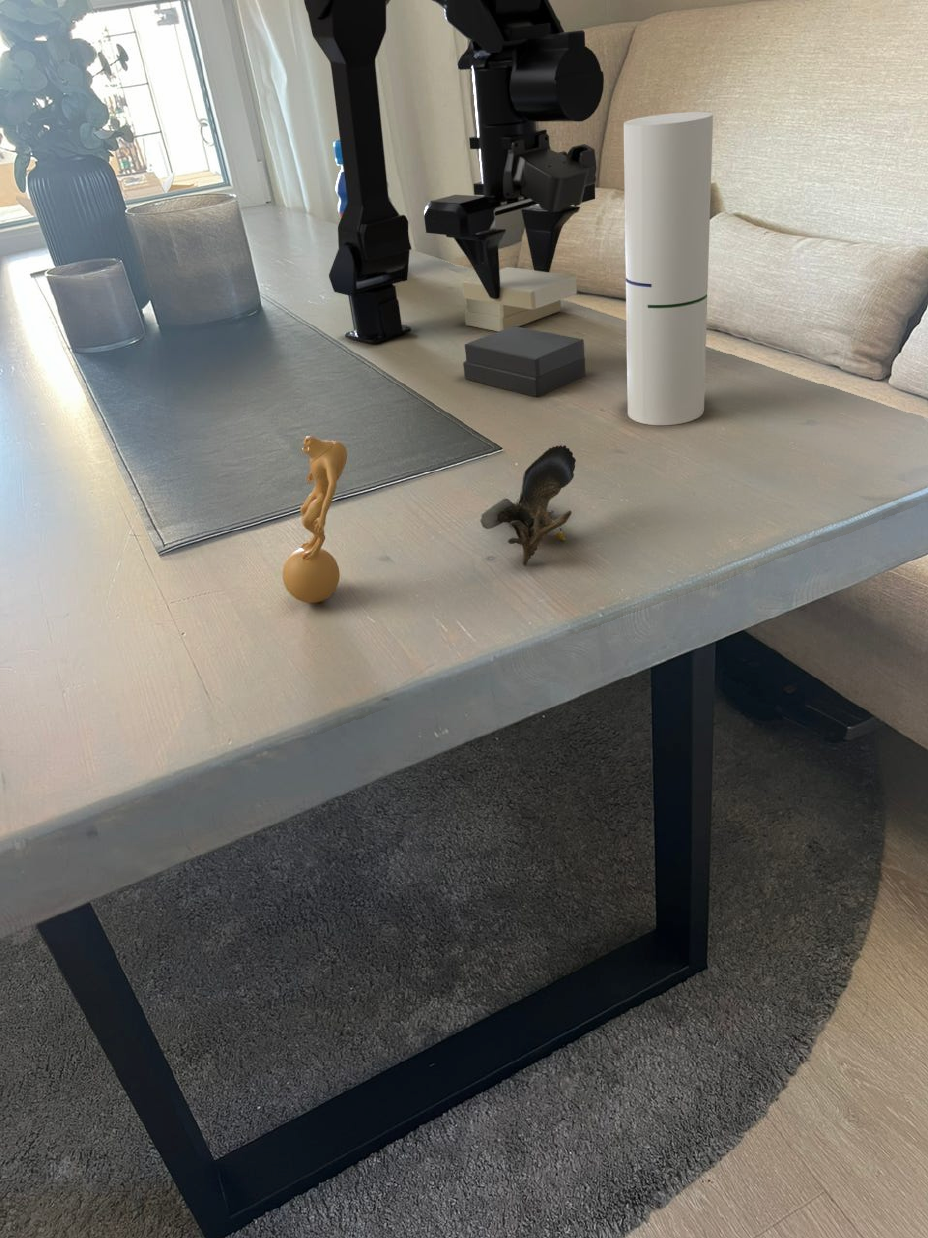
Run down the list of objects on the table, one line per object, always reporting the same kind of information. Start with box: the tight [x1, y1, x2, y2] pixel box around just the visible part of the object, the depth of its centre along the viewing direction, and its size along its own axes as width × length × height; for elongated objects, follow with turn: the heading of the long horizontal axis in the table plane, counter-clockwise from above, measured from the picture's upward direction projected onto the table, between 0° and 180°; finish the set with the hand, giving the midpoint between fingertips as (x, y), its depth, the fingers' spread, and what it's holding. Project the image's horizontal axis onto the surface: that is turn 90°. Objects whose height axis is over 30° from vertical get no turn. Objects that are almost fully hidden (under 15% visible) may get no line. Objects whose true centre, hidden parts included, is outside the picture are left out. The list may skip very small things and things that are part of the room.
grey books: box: [462, 326, 586, 398], centre depth 101 cm, size 11×8×4 cm
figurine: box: [282, 435, 348, 604], centre depth 64 cm, size 8×6×12 cm
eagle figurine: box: [479, 444, 577, 566], centre depth 70 cm, size 8×7×9 cm
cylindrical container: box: [623, 111, 714, 426], centre depth 83 cm, size 7×7×25 cm
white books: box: [464, 298, 562, 332], centre depth 122 cm, size 11×7×4 cm
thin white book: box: [462, 266, 578, 310], centre depth 97 cm, size 10×7×2 cm, turn 42°
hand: (518, 289), depth 97 cm, fingers closed on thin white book, 7 cm apart
